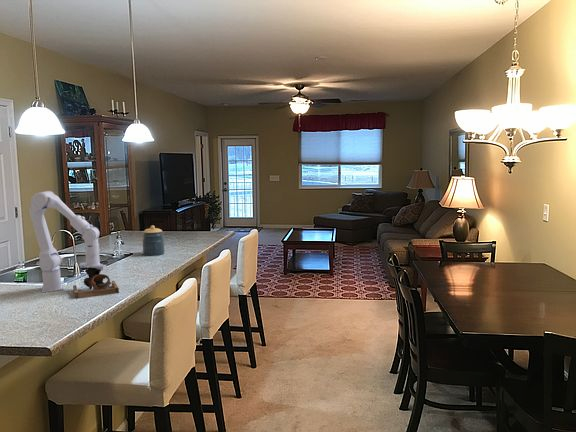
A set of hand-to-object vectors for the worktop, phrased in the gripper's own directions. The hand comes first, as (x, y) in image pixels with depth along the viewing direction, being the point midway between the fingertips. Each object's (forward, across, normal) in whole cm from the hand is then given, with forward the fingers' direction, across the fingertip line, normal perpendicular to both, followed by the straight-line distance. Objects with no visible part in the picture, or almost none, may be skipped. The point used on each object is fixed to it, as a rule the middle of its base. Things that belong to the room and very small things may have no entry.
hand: (94, 284), depth 220 cm
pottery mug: (+2, +5, -2) cm, 6 cm away
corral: (+2, +5, -3) cm, 6 cm away
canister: (+2, -30, +72) cm, 78 cm away
